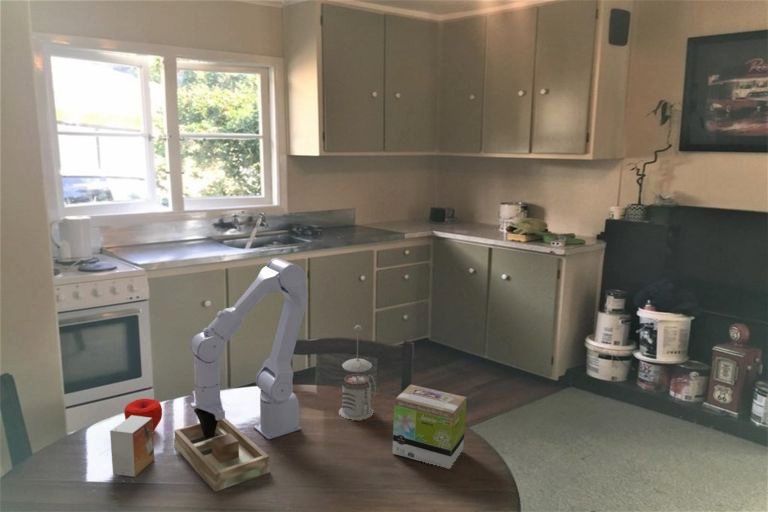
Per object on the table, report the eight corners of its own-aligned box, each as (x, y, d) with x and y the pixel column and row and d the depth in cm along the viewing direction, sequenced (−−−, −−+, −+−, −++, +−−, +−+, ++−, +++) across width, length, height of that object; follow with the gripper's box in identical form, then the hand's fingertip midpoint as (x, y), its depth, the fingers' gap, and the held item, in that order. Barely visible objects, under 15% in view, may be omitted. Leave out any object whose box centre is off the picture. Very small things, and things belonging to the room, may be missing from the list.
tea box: (391, 455, 145) (392, 397, 142) (407, 437, 154) (409, 382, 151) (450, 471, 139) (453, 411, 136) (464, 451, 148) (467, 395, 145)
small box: (134, 478, 133) (132, 433, 131) (112, 474, 134) (109, 430, 132) (155, 459, 141) (153, 417, 139) (133, 456, 142) (131, 414, 140)
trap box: (224, 430, 155) (224, 416, 154) (270, 472, 137) (269, 455, 136) (174, 445, 147) (173, 430, 146) (215, 491, 129) (214, 474, 128)
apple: (170, 429, 155) (169, 400, 153) (142, 444, 147) (141, 414, 146) (145, 421, 159) (144, 393, 157) (117, 435, 151) (115, 405, 150)
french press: (358, 401, 174) (360, 317, 169) (386, 415, 166) (388, 328, 161) (331, 411, 167) (332, 324, 162) (358, 426, 159) (360, 335, 154)
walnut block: (230, 448, 142) (230, 433, 141) (239, 457, 139) (238, 440, 138) (212, 454, 139) (211, 438, 139) (220, 463, 136) (219, 446, 135)
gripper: (179, 377, 146) (181, 429, 149) (203, 398, 135) (205, 454, 138) (207, 370, 151) (209, 421, 153) (232, 390, 140) (234, 444, 142)
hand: (209, 436), depth 146 cm, fingers closed
